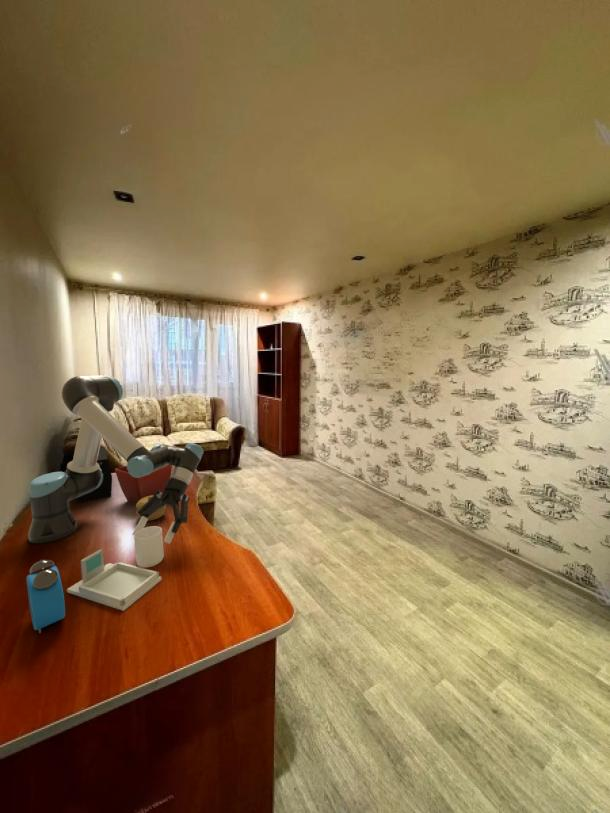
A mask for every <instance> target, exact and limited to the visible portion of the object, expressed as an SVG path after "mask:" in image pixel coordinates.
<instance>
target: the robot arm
mask: <svg viewBox="0 0 610 813" xmlns="http://www.w3.org/2000/svg"><path fill="white" fill-rule="evenodd" d="M123 395H124V390H123V386H122V384H121V382H120V381H119V380H118V379H117V378H116V377H114V376H110V375H104V374H101V375H77V376H76V375H75V376H74V377H70V379H68V380H67V381H65V383H64V385H63V386H62V389H61V399H62V400H63V403H64V405H65V406H66V408H67V409H68V410H69V411H70V412H71V413H72V414H73V415H74V416H77V417H79V416H80V418H81V420H80V425H79V430H78V433H77V439H76V444H75V448H74V453H73V459H72V460H71V461H69V462H68V463H67V465H66V470H65V471H64V472H63V471H54V472H50V473H45V474H42V475H40V476H37V477H35V478H34V479H32V480H31V481H30V483H29V485H28V496H29V500H30V511H31V518H32V520H31V523H30V526H29V530H28V534H27V537H28V538H27V539H28V541H29V543H31V544H45V543H50V542H54V541H58V540H60V539H61V540H62V539H63V538H65V537H68V536H70V535H71V534H73V533H74V532H75V531H76V530H78V524H77V523H78V522H77V520H76V518H75V516H74V515H73V514H72V511H71V508H70V507H71V506H70V501H72V500H75V499H76V498H78V497H80V496H82V495H85V494H87V493H90V492H92V491H93V490H95V489H97V488H98V487H99V486H100V485H101V483H102V481H103V473H101V472H102V470H101V468H100V466H99V464H98V463H97V458H98V454H99V449H100V448H101V445H102V444H101V443H102V440H104V441H105V442H106V443H107V444H109V446H110V447H111V448H112V449H113V450H115V452H117V453H118V455H120V456H121V457H122V458H123V459H124V460H125V461H126V462H127V463H126V466H127V470H128V473H129V474H130V475H131V476H133V477H135V478H140V477H143V476H146V475H149V474H150V473H152V472H154V471H156V470H158V469H160V468H163V467H165V466H167V465H171V466H172V467H174V469H172V471H171V476H170V479H169V480H168V482H167V484H166V486H165V491H164V492H163V493H162V492H160V491H156V492H155V494H154V496H153V497H152V498H151V499H150V500H149V501H148V502H147V503H146V504H145V505H144V506H143V507H142V508H141V509H140V510H139V511H138V514H140V515H141V516H140V518H139V517H138V521H137V523H136V527H135V529H134V530H133V532H132V534H131V535H132V536H134V534H135V533H136V532H137V531H139V530H140V529H143V528H146V527H145V526H146V525H147V522H149V521H148V516H150V515H151V514H152V513H154V512H155V511H156V510H158V509H159V508H160V507H163V506H166V507H170V508H171V507H172V511H173V516H174V520H173V521H172V522H171V524H170V527H169V528H168V530H167V533H166V535H165V537H164V539H163V542H164V543H166V544H168V545H169V544H171V543H172V540H173V538H174V535H175V534H177V532H179V528H180V526H181V524H187V523H188V511H189V509H188V508H189V506H188V505H189V502H190V501H189V500H190V497H189V496H188V495H187V494H186V491H187V490H188V487H189V485H190V483H191V481H192V479H193V476H194V474H195V472H196V470H197V468H198V466H199V463H200V462H201V461H202V460H201V459H202V457H203V454H204V449H203V448H202V446H201V445H199V444H197V443H193V442H190V443H187V444H186V445H185V446H184V447H178V446H172V445H168V444H165V443H164V444H163V443H162V444H161V443H158V444H157V443H156V444H155V445H153V447H151V449H150V451H149V450H148V449H147V448H146V447H145V446H144V445H143V444H142V443H141V442H140V441H139V440H138V439H137V438H136V437H135V436H134V435H133V434H132V433H131V432H130V431H129V430H127V428H125V426H123V425H122V423H120V422H119V420H117V419H116V418H115V417H114V415H113V414H111V412H112V411H113V410H114V406H115V403H117V402H118V403H119V401H121V399H122V398H123ZM161 501H162V502H161ZM142 511H143V512H142Z"/></svg>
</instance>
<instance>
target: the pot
mask: <svg viewBox="0 0 610 813" xmlns="http://www.w3.org/2000/svg"><path fill="white" fill-rule="evenodd" d="M153 496H154V495H151V496H147V497H144V498H142V499H141V500H139V501H138V503H137V504H135V508H136V509H137V510H136V512H135V513H136V516H137V517H138V519H139V518H140V516H141V515H140V514H138V511H139V510H140V509H141V508H142V507H143V506H144V505H145V504H146V503H147V502H148V501H149V500H150V499H151V498H152V497H153ZM161 502H162V501H161ZM166 509H167V506H163V507H160V508H159V509H158V510H156V511H155V512H154V513H152V514H151V515H150V516H148V521H147V522H151V521H154V520H157V519H159V518H161V517H162V516H163V515H164V514H165V512H166ZM142 512H143V511H142Z"/></svg>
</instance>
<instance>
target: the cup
mask: <svg viewBox="0 0 610 813" xmlns="http://www.w3.org/2000/svg"><path fill="white" fill-rule="evenodd" d="M133 540H134V549H135V561H136V564H137V567H141V568H144V569H147V568H151V567H155V566H156V565H158V564H160V563H161V562H162V561H163V559H164V556H165V553H164V539H163V528H162V527H160V526H158V525H152V526H146V527H144V528H143V529H140V530H139V531H137V532H136V533H135V534H134V535H133Z"/></svg>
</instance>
